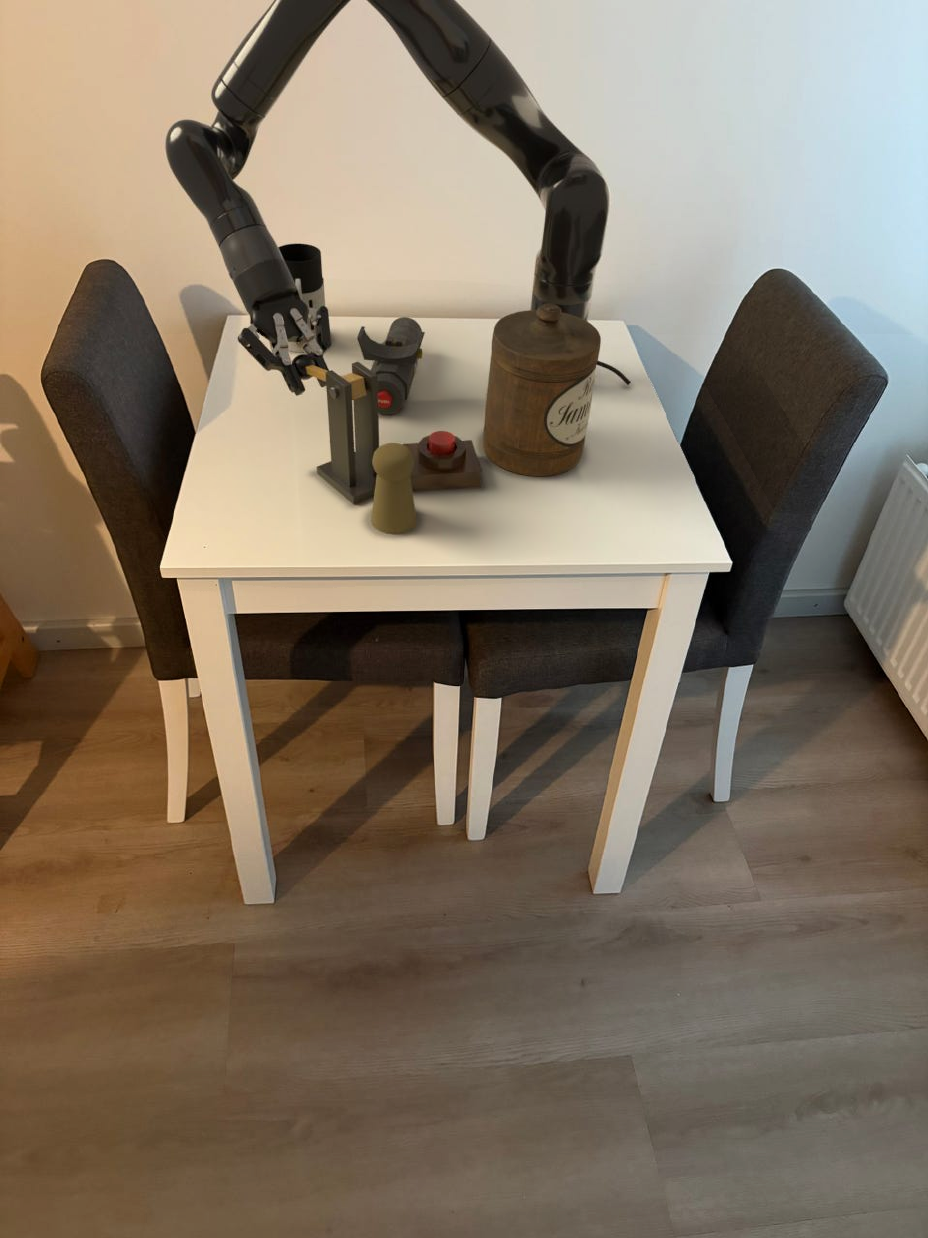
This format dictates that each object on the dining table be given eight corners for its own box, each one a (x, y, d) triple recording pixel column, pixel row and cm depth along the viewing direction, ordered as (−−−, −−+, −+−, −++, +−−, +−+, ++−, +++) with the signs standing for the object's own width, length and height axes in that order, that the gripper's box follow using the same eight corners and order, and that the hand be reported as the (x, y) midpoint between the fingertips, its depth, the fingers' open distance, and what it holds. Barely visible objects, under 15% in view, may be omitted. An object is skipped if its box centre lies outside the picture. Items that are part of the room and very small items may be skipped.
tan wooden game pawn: (370, 506, 119) (368, 436, 112) (415, 506, 120) (416, 435, 112) (371, 534, 115) (368, 463, 107) (417, 534, 115) (418, 462, 108)
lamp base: (470, 455, 129) (472, 428, 126) (480, 487, 124) (482, 460, 121) (402, 459, 128) (402, 432, 125) (409, 492, 122) (409, 464, 119)
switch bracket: (317, 473, 124) (308, 366, 113) (358, 457, 128) (354, 351, 116) (353, 505, 119) (348, 396, 108) (395, 487, 123) (395, 380, 112)
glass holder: (329, 328, 156) (324, 241, 146) (331, 367, 146) (326, 277, 136) (278, 328, 155) (269, 241, 145) (277, 368, 145) (267, 278, 135)
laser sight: (434, 352, 151) (435, 295, 145) (415, 422, 135) (416, 361, 128) (377, 347, 152) (376, 290, 145) (352, 415, 136) (349, 355, 129)
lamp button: (452, 440, 124) (453, 430, 123) (456, 455, 122) (457, 444, 121) (427, 442, 124) (427, 431, 123) (430, 456, 121) (431, 445, 120)
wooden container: (571, 486, 125) (594, 339, 110) (470, 464, 128) (479, 318, 112) (591, 433, 135) (615, 292, 120) (497, 414, 138) (509, 273, 123)
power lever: (289, 379, 123) (284, 355, 121) (310, 373, 124) (305, 348, 122) (349, 405, 113) (344, 379, 111) (371, 397, 114) (367, 371, 112)
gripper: (217, 269, 113) (277, 394, 115) (312, 246, 120) (366, 364, 122) (204, 294, 120) (260, 413, 122) (294, 271, 127) (346, 384, 129)
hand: (313, 388), depth 122 cm, fingers closed on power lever, 3 cm apart
